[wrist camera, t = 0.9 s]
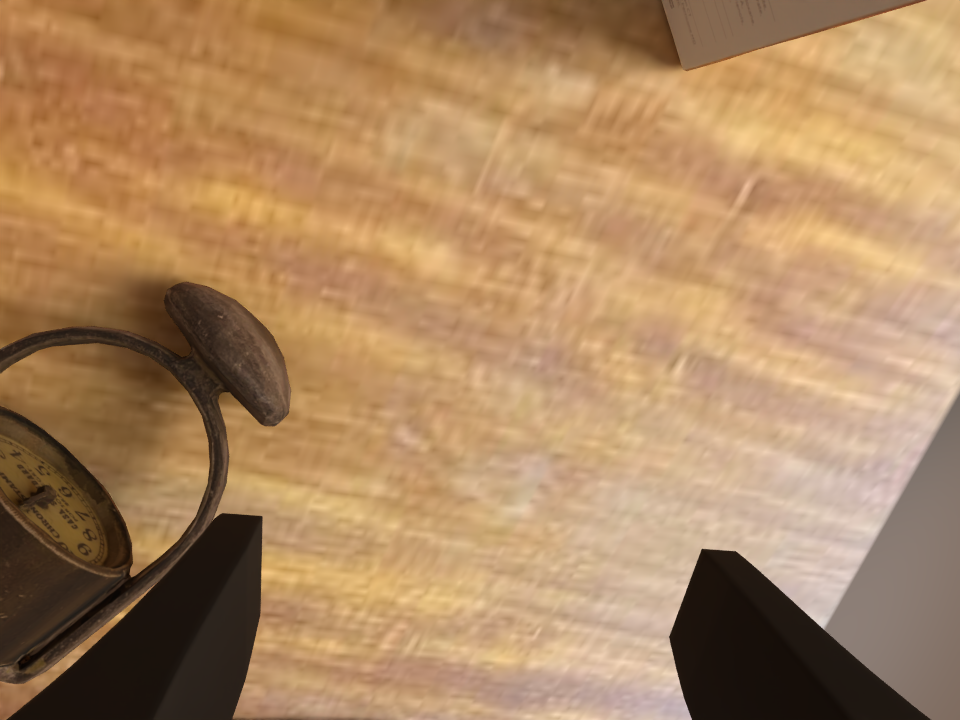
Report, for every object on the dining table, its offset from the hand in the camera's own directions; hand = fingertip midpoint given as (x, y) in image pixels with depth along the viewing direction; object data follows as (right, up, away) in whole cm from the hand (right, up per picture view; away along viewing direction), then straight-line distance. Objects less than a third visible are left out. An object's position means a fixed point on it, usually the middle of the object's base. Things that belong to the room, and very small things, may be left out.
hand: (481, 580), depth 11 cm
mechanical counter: (-12, +1, +12) cm, 17 cm away
